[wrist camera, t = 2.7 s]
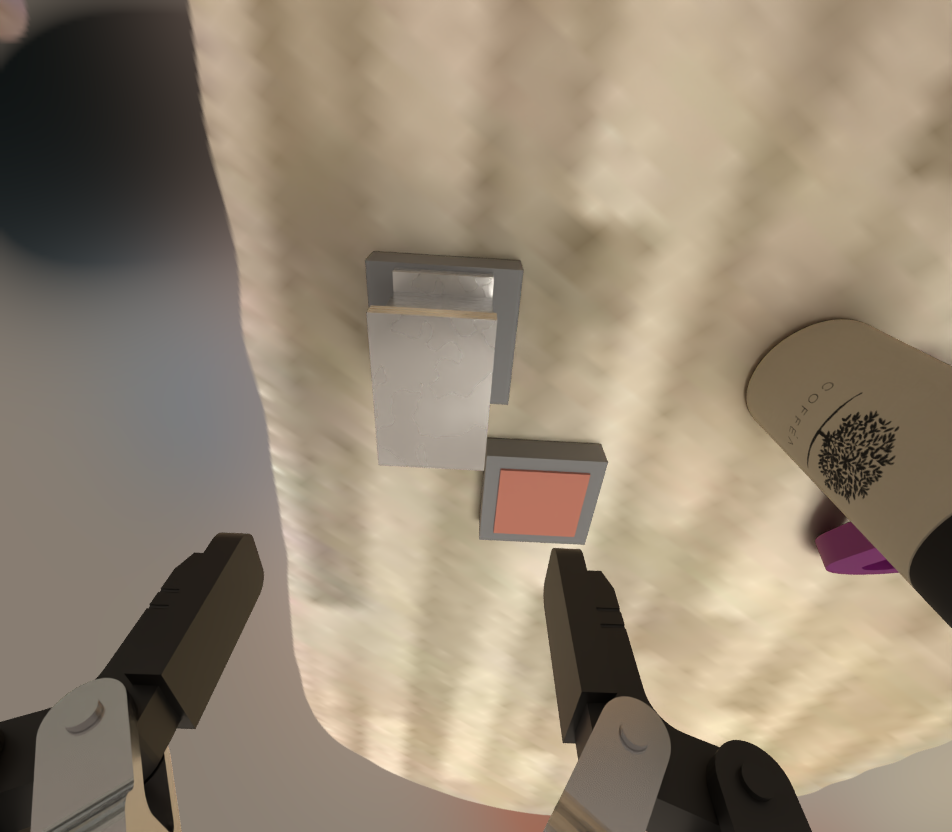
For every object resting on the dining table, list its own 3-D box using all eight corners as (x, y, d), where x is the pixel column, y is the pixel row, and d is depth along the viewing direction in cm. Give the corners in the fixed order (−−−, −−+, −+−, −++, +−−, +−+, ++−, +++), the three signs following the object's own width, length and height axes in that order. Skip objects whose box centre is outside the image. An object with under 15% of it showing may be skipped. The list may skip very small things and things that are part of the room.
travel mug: (912, 345, 26) (1488, 632, 11) (811, 444, 30) (1136, 752, 15) (809, 296, 25) (1316, 552, 10) (717, 407, 29) (974, 708, 14)
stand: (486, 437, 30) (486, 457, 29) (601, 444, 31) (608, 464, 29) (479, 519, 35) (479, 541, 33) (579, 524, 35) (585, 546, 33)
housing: (395, 267, 22) (366, 312, 17) (493, 273, 22) (497, 320, 17) (400, 394, 26) (378, 465, 21) (483, 399, 26) (483, 470, 21)
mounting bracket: (868, 477, 40) (1113, 347, 24) (916, 574, 35) (1251, 491, 20) (763, 477, 40) (940, 347, 24) (797, 574, 35) (1040, 491, 20)
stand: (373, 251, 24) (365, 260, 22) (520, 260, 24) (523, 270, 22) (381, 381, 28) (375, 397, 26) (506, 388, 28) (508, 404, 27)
